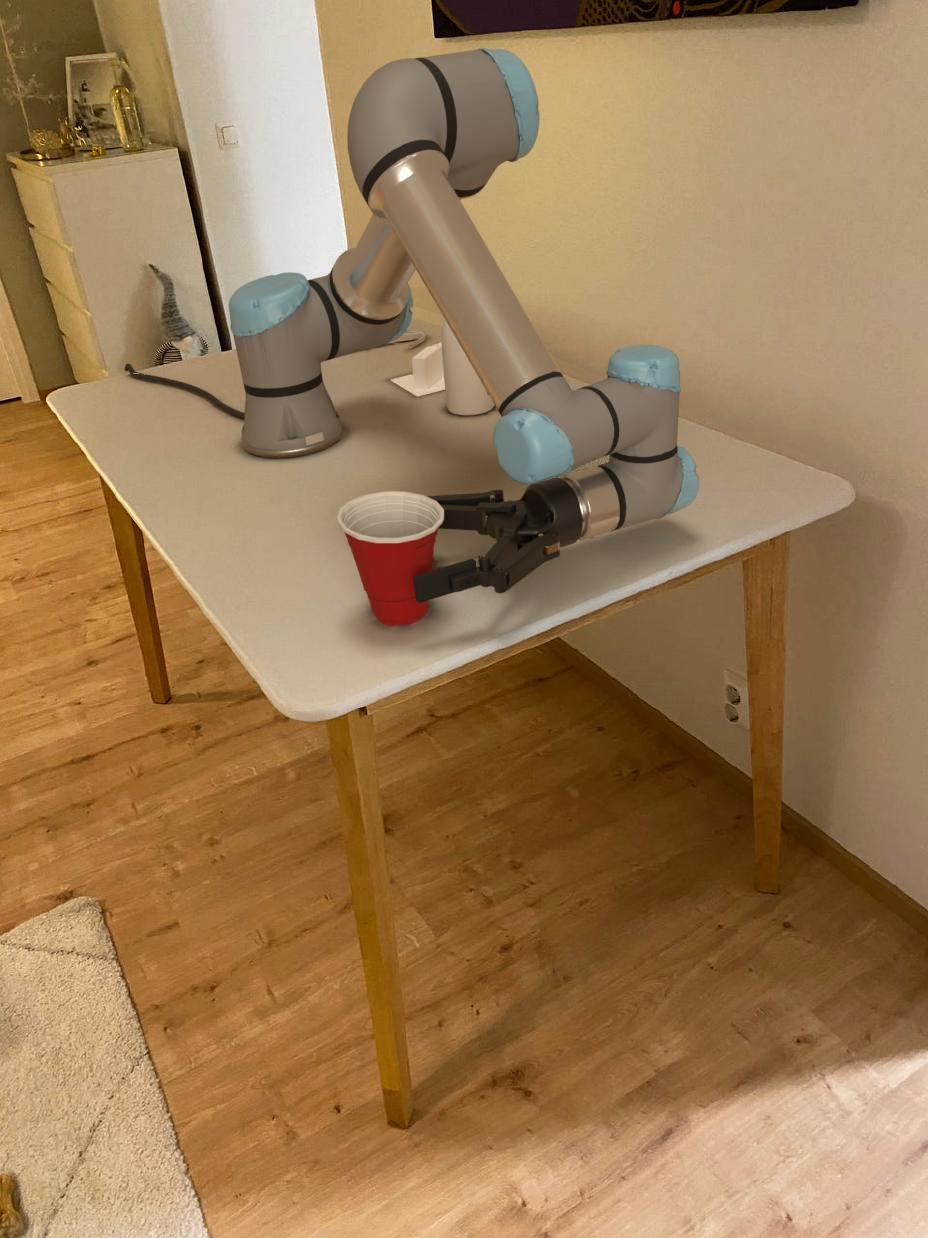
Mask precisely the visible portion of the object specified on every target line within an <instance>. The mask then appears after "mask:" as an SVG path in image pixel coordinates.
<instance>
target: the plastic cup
mask: <svg viewBox="0 0 928 1238" xmlns="http://www.w3.org/2000/svg"><path fill="white" fill-rule="evenodd" d="M426 496H427V495H424V494H421V493H415V492H410V491H401V490H399V491H398V490H396V491H395V490H394V491H393V490H392V491H388V490H387V491H386V490H384V491H378V492H372V493H367V494H363V495H360V496H358V497H355V498H352V499H351V500H348V501H347V502H346V503H345V504H344V505H342V507H340V508H339V509H338V512H337V515H336V516H337V517H336V521H337V524H338V525H339V527H340V528H341V529H342V531H343V533H344V536H345V538H346V540H347V544H348V546H349V548H350V550H351V553H352V556H353V560H354V563H355V566H356V569H357V571H358V575H359V578H360V581H361V584H362V587H363V590H364V591H365V594H366V596H367V599H368V601H369V605H370V608H371V611H372V613H373V615H374V616H375V618H376V619H377V621H378V622H380V623H381V624H384V625H387V626H393V627H399V626H407V625H412V624H414V623H417V622H418V621H420V620H422V619H423V618H424V617H425V616H426V615H427V614H428V609H429V606H430V605H429V604H430V600H428V601H425V602H422V603H418V602H417V601H416V597H415V589H414V581H413V576H416V575H419V574H422V573H426V572H429V571H432V564H433V558H434V554H435V553H434V551H435V544H436V539H437V535H438V532H439V530H440V529H439V526H440V525H441V524H442V523H443V520H444V509H443V508H442V507H441V506H440V505H439V503H438V502H437V501H435V500H433V499H431V498H428V497H426Z"/></svg>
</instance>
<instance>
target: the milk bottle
mask: <svg viewBox="0 0 928 1238" xmlns="http://www.w3.org/2000/svg"><path fill="white" fill-rule="evenodd" d="M440 337H441V338H440V339H441V341H440V342H441V343H442V358H443V370H444V382H445V390H444V391H445V393H444V394H445V401H446V408H447V410H448V411H449V412H450V413H451V414H454V415H458V416H476V415H481V414H485V413H487V412H490V411H491V410H492V409H494V407H495V405H494V403H493V401H492V399H491V398H490V396H489V394H488V392H487V391H486V389H485V387H484V386H483V384H482V382H481V380H480V379H479V377H478V375H477V374H476V372H475V370H474V368H473V367H472V365H471V363H470V361H469V360H468V358H467V356H466V355H465V353H464V351H463V349H462V348H461V346H460V344H459V342H458V341H457V339H456V337H455V336H454V334H453V332H452V330H451V329H450V327H449V325H448V324H447V322H446V320H445V319H444V320H443V323H442V327H441V335H440Z"/></svg>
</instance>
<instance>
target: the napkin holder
mask: <svg viewBox="0 0 928 1238" xmlns="http://www.w3.org/2000/svg"><path fill="white" fill-rule="evenodd" d="M411 365H412V373H411V374H408V375H403V376H399V377H395V378H391V379H390V381H391V382H392V383H394V384H395V385H397V386H398V387H401V388H402V389H403V390H405V391H407V392H409V393H410V394H412V395H414V396H415V397H417V398H418V397H422V396H425V395H430V394H435V393H437V392H441V391H445V382H444V370H443V358H442V343H441V341H439V342H438V343H434V344H433V345H428V346H426V347H424V348H423V349H422V350H421V351H419V352H418V353H417V354H416V355H414V356H413V357H411Z"/></svg>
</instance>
